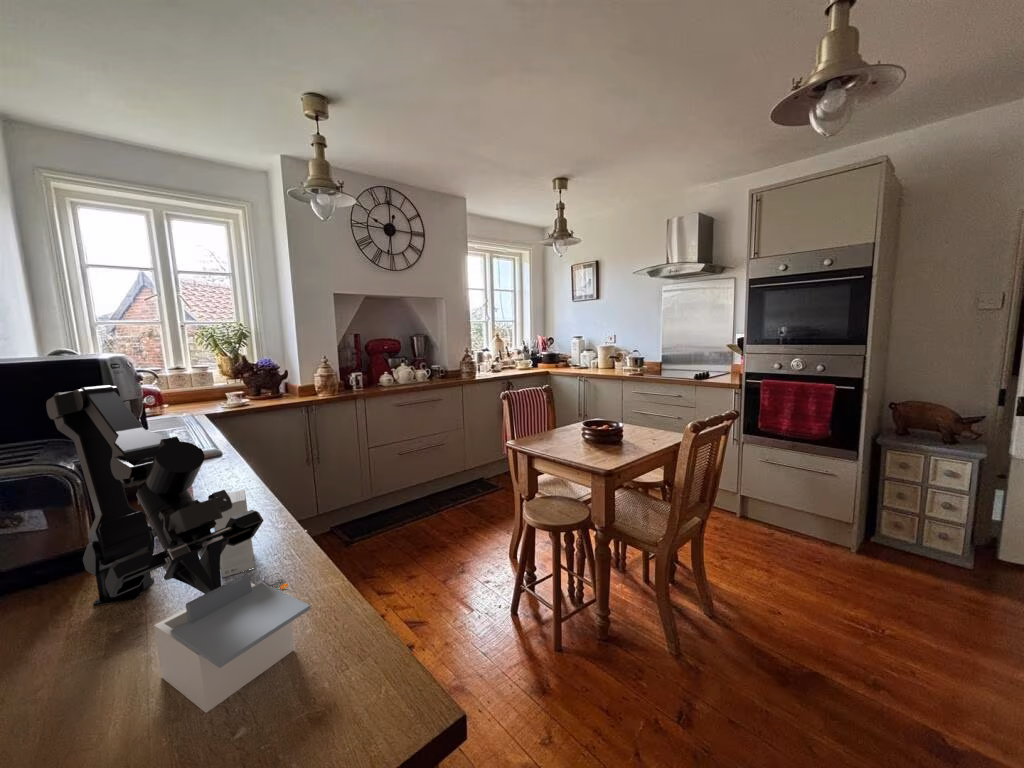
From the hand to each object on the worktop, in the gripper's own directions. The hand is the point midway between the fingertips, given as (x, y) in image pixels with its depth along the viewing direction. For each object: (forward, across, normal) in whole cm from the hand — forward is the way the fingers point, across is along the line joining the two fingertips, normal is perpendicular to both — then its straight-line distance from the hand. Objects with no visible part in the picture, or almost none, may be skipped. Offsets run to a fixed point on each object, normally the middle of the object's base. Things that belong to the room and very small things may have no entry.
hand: (218, 596), depth 61 cm
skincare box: (-11, +15, +25) cm, 32 cm away
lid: (+6, 0, -3) cm, 7 cm away
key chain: (0, +13, +15) cm, 20 cm away
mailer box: (+8, 0, +6) cm, 10 cm away
